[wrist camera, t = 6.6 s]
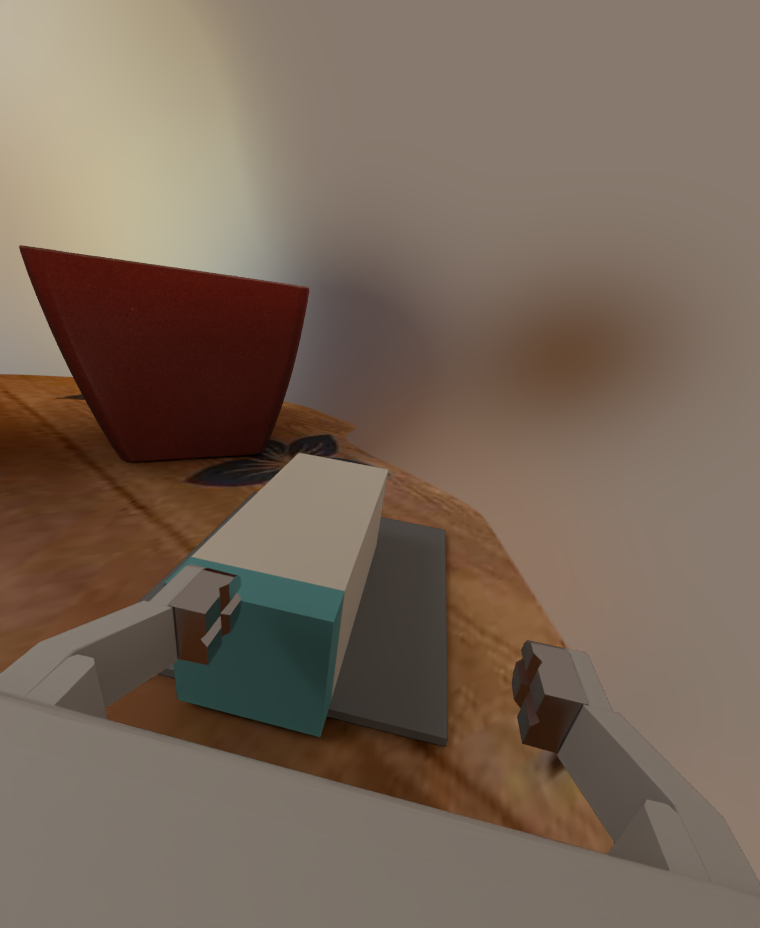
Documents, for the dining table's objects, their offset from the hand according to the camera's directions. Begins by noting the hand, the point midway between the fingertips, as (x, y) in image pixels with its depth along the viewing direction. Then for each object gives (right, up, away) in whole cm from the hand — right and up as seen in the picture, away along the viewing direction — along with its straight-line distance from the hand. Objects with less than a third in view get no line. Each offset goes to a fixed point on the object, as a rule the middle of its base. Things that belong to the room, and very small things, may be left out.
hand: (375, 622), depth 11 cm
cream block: (-5, -3, +3) cm, 6 cm away
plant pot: (-20, +7, +31) cm, 38 cm away
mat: (-4, -3, +13) cm, 14 cm away
